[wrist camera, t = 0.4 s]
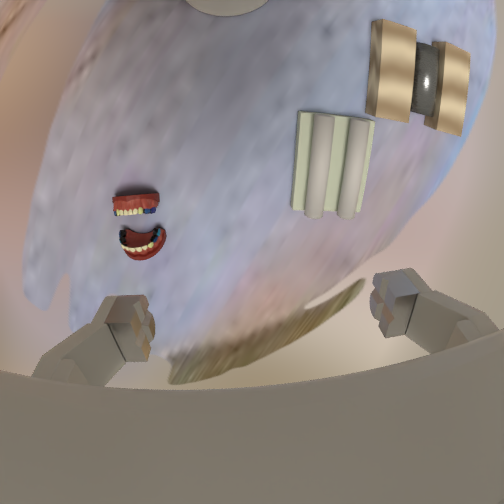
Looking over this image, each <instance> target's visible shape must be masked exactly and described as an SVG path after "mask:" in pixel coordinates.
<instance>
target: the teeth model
mask: <svg viewBox="0 0 504 504" xmlns="http://www.w3.org/2000/svg"><path fill="white" fill-rule="evenodd" d="M112 200H113V203H114V209H113V211H114V215H115V216H120V215H132V214H138V213H139V214H140V215H141V214H142V213H146V214H148V213H151V214H152V213H155V212H156V207H157V206H158V202H159V193H153V194H140V195H129V196H118V197H112ZM119 237H120V239H119V240H120V243H121V246H122V248H123V249H124V251H125V253H126V254H127V255H128V256H129V257H130V258H132V259H134V260H146V259H149V258H151V257H153V256H154V255H155V254H157V253H158V252H159V251H160V249H161V248H162V247H163V245H164V243H165V240H166V232H165V230H163V229H161V228H155V229H154V230H153V231H152V232H150V233H144V234H141V233H135V232H133V231H131V230H127V229H126V230H120V232H119Z"/></svg>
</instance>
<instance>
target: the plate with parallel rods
mask: <svg viewBox="0 0 504 504" xmlns="http://www.w3.org/2000/svg"><path fill="white" fill-rule="evenodd" d="M374 126H375V121H373V120H370V119H364V118H357V117H350V116H343V115H335V114H326V113H316V112H305V111H298V121H297V135H296V148H295V161H294V173H293V184H292V195H291V207H292V210H305V212H304V214H305V216H307V217H309V218H312V219H320V218H322V217H323V211H337V215H338V216H339V217H340V218H342V219H346V220H352V219H354V217H355V212H360V209H361V204H362V199H363V194H364V188H365V183H366V178H367V172H368V166H369V160H370V154H371V147H372V141H373V133H374Z"/></svg>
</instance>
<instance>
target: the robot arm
mask: <svg viewBox="0 0 504 504" xmlns="http://www.w3.org/2000/svg"><path fill="white" fill-rule="evenodd" d="M186 1H187V2H188V3H189V4H190V5H191V6H192V7H194V8H195V9H197V10H199V11H201V12H204V13H207V14H210V15H215V16H236V15H241V14H245V13H248V12H251V11H253V10H255V9H257V8H259V7H261V6H262V5H263V4H265V3H266V2H267V1H268V0H186ZM373 285H374V286H375V289H374V290H373V291H372V293H371V295H370V309H371V313H372V315H373V317H374V318H375V319H377V320H379V321H380V322H379V328H380V330H381V332H382V333H383V335H384V337H385V338H390V337H395V336H401V335H406V336H407V337H408V338H409V339H411V340H413V341H414V342H415V343H416V344H418V345H419V346H421V347H422V348H423V349H425V350H426V351H427V352H429V353H430V355H426V356H423V357H419V358H416V359H413V360H409V361H405V362H401V363H398V364H393V365H389V366H385V367H381V368H376V369H371V370H366V371H362V372H357V373H351V374H346V375H341V376H335V377H329V378H323V379H317V380H310V381H303V382H296V383H288V384H278V385H269V386H260V387H259V386H258V387H246V388H231V389H211V390H210V389H209V390H149V389H128V388H113V387H104V386H105V385H106V384H107V383H108V382H109V381H110V379H112V377H113V376H114V375H115V374H116V373H117V372H118V371H119V370H120V369H121V368H122V367H123V366H124V365H125V364H126V362H147V361H148V357H149V354H150V350H151V347H150V344H149V343H150V342H151V341H152V340H153V339H154V335H155V322H154V318H153V315H152V314H151V313H150V312H149V311H148V310H147V308H148V306H149V303H148V300H147V298H146V296H144V295H120V296H107V297H105V299H104V300H103V302H102V304H101V306H100V307H99V309H98V311H97V313H96V315H95V317H94V319H93V320H92V322H91V324H86V325H85V326H83V327H82V328H80V329H79V330H77V331H76V332H75V333H73V334H72V335H70V336H69V337H68V338H66V339H65V340H63V341H62V342H61V343H59V344H58V345H56V346H55V347H53V348H52V349H51V350H49V351H48V352H46V353H45V354H44V355H42V357H41V359H40V361H39V363H38V364H37V366H36V368H35V370H34V372H33V374H32V376H31V377H30V376H25V375H20V374H16V373H11V372H7V371H2V370H0V504H504V328H503V329H501V330H499V329H498V328H497V327H496V325H495V324H494V323H493V322H492V321H491V319H490V318H489V317H488V316H487V315H486V313H484V312H482V311H480V310H478V309H476V308H474V307H471V306H469V305H467V304H465V303H463V302H461V301H458V300H456V299H454V298H452V297H449V296H447V295H445V294H443V293H440V292H438V291H432V290H431V289H430V288H429V286H428V285H427V284H426V283H425V282H424V281H423V279H422V278H421V277H420V276H419V275H418V274H417V273H416V271H415V270H414V269H412V268H407V269H400V270H396V271H389V272H383V273H376V274H375V275H374V278H373Z"/></svg>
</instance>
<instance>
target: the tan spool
mask: <svg viewBox="0 0 504 504" xmlns="http://www.w3.org/2000/svg"><path fill="white" fill-rule="evenodd" d="M416 32H417V30H415V29H412V28H410V27H407V26H404V25H401V24H398V23H395V22H391V21H388V20H385V19H381V20H377V21H373V22H372V27H371V50H370V66H369V79H368V90H367V101H366V110H365V113H367V114H370V115H372V116H375V117H380V118H385V119H391V120H396V121H401V122H405V123H408V122H409V115H410V108H411V100H412V91H413V81H414V70H415V55H416ZM432 46H434V47H436V48H438V49H439V50H440V59H439V73H438V84H437V93H436V101H435V109H434V116H433V117H430V116H426V115H425V122H424V125H426V126H429V127H431V128H433V129H436V130H439V131H443V132H446V133H450V134H453V135H457V136H460V137H461V133H462V128H463V122H464V115H465V108H466V101H467V92H468V83H469V71H470V53H468V52H466V51H464V50H462V49H460V48H458V47H456V46H454V45H452V44H450V43H447V42H432Z"/></svg>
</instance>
